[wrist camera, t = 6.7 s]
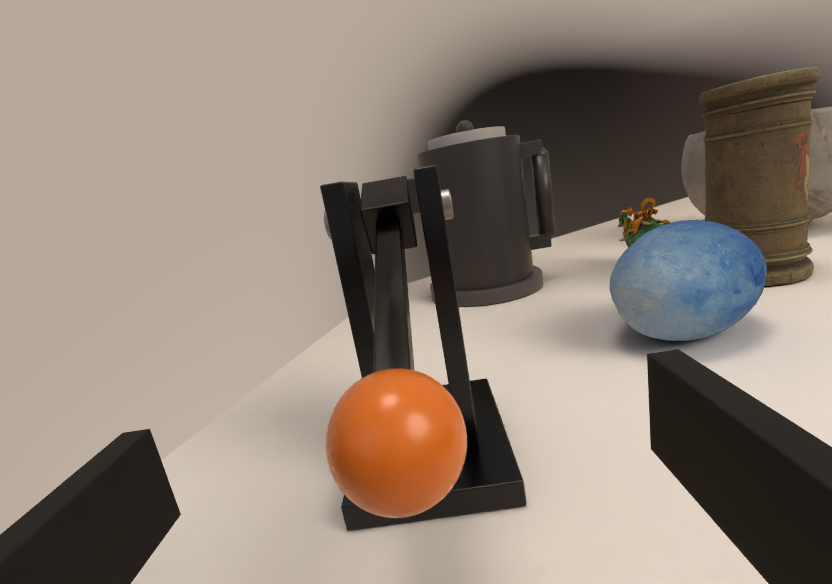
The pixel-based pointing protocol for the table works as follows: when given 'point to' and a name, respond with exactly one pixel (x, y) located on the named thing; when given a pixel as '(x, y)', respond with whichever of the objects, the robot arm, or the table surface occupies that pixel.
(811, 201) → the bowl
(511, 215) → the kettle
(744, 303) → the egg
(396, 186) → the switch
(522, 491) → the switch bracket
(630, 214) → the figurine
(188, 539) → the table surface
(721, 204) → the container
